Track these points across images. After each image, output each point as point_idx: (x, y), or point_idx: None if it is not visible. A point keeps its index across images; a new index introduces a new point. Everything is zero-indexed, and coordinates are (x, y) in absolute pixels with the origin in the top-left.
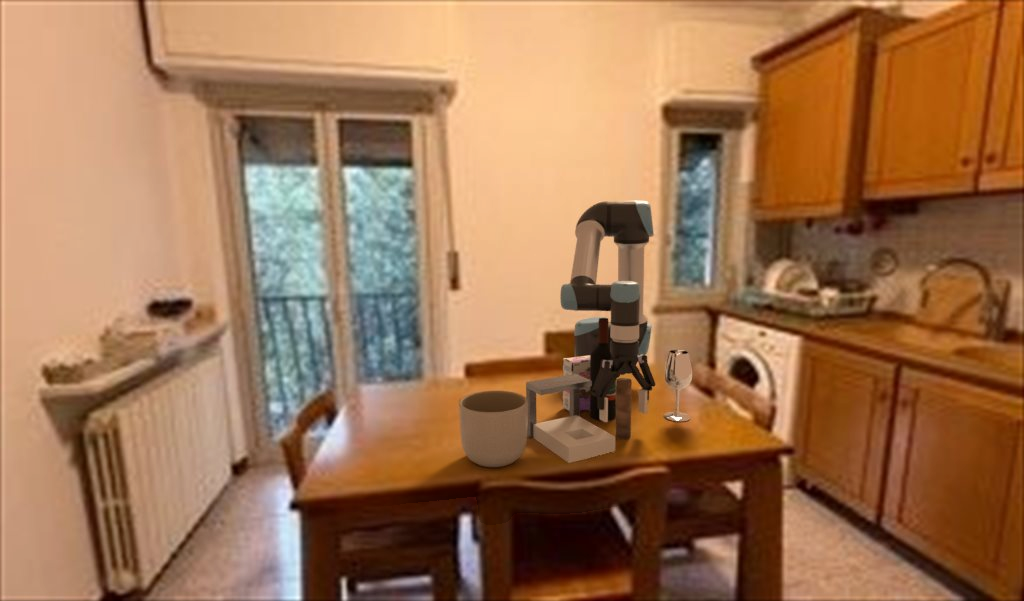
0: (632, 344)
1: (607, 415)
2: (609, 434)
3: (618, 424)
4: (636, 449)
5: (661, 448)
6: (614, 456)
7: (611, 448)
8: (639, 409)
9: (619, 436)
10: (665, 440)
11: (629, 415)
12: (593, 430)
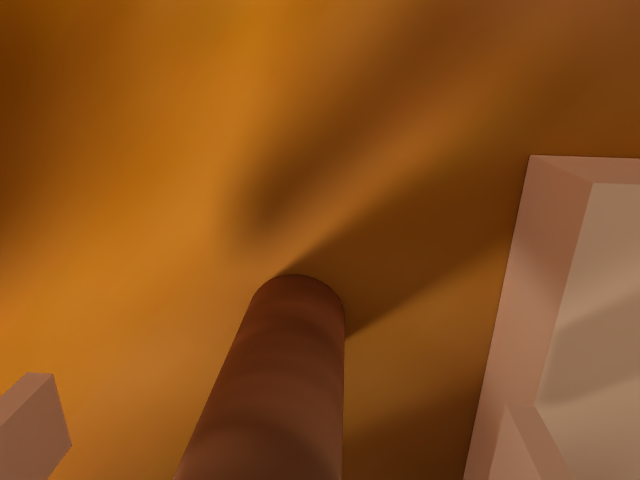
0: None
1: (536, 463)
2: (587, 255)
3: (343, 376)
4: (365, 103)
5: (182, 13)
6: (603, 87)
7: (582, 161)
8: (56, 450)
9: (341, 313)
10: (70, 121)
11: (245, 391)
12: (622, 385)
